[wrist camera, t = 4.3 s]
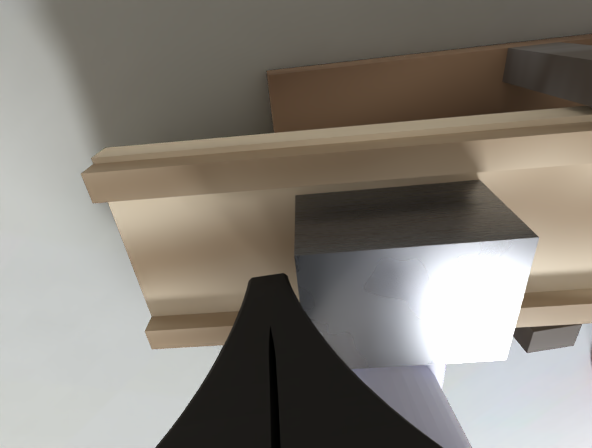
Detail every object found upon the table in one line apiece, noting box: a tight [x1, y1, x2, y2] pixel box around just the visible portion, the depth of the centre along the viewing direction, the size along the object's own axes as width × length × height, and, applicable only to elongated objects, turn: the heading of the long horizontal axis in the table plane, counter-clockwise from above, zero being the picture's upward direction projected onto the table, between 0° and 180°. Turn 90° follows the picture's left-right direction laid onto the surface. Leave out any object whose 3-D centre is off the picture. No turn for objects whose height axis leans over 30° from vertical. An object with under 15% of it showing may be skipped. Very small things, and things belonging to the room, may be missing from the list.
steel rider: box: [294, 180, 539, 369], centre depth 12 cm, size 4×6×4 cm
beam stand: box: [266, 34, 592, 353], centre depth 15 cm, size 11×20×6 cm, turn 95°
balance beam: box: [81, 106, 592, 349], centre depth 13 cm, size 8×32×2 cm, turn 95°
